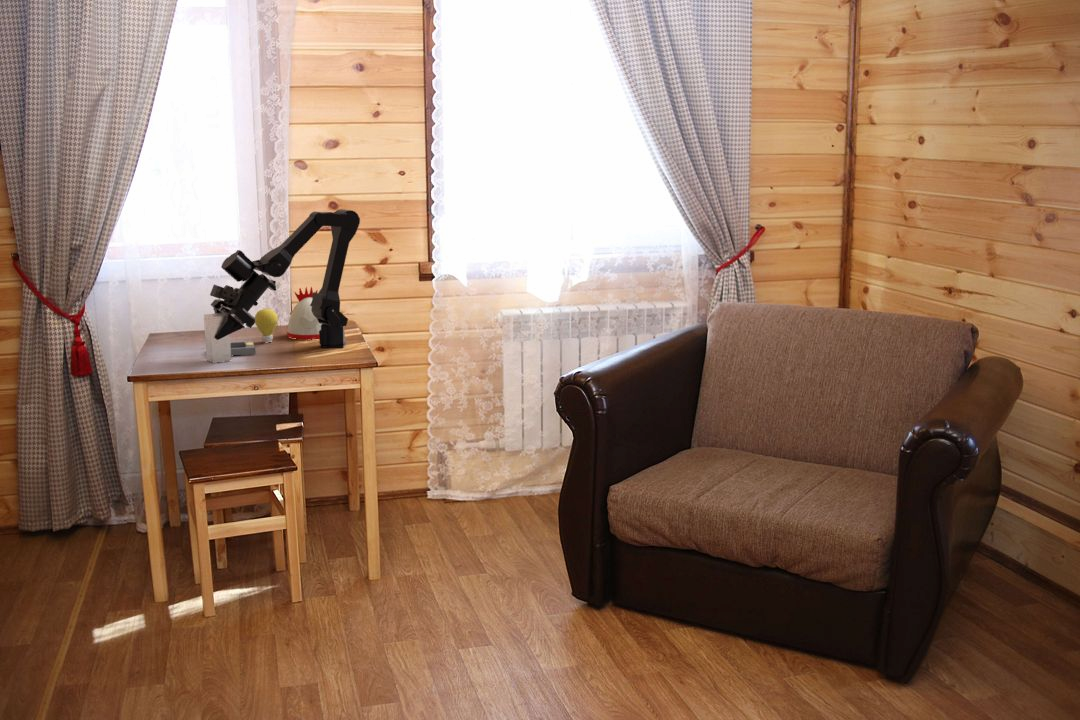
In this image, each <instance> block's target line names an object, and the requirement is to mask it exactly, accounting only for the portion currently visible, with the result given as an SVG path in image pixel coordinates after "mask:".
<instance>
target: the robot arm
mask: <svg viewBox="0 0 1080 720" xmlns="http://www.w3.org/2000/svg"><path fill="white" fill-rule="evenodd" d="M360 224H361V218H360V216H359V214H358V213H357V212H356V211H354V210H352V209H351V210H350V209H345V208H340V209H337V210H335V211H333V212H331V211H329V212H327V211H326V212H324V211H323V212H322V211H312V212H311V213H310V214H309V215H308V217H306V219H305V220H304V221H303V222H302V223H301V224H299V226H298V227H297V228H296V229H295V230H294V231H293V232H292V233H291V234H290V235H289V236H288V237H287V238H286V239H285V241H283V242H282V243H281V244H280V245H279V246H277V247H275V248H273V249H271V250H270V251H267V253H265V254H264V255H262V256H261V257H260V259H256V260H251V259H250V258H249V257H248V256H247V255H246V254H245V253H244V252H243V251H242V250H240V249H237V250H236V251H235V252H234V253H232V254H230V255H228V257H225V259H224V260H223V262H222V263H221V266H220V267H221V269H222V270H223V271H224V272H226V274H228V275H229V276H230V277H231V278H233V279H234V280H235V281H236V282H238V283H239V282H241V281H242V282H243V283H242V284H241V286H240V287H239V288H238V287H233V286H230V285H229V284H228V285H225V286H221V285H217V284H212V285H213V286H212V288H211V291H210V294H209V296H211V297H214V298H216V299H213V301H212V302H211V303H210V306H211V307H212V309H213V312H214V314H215V313H224V314H225V321H224V323H223V324H222V326H221V327H220V329H219V331H218V332H217V334H216V336H215V339H217V340H219V339H221V338H223V337H225V336H227V335H229V334H230V335H231V334H233V333H235V332H237V331H239V330H243V329H245V328H246V327H247V328H250V329H252V327H253V326H254V325H256V324H255V316H253V315H252V314H251V313H250V312H249V311H250V310H251V308H253V307H257V306H258V305H259V303H258V301H259V299H260V298H261V297H262V296H263V295H264V293H265V292H266V291H267V290H271V291H274V292H276V291H277V286H276V280H275V279H271V280H270V279H269V278H268V277H267V276H269V277H272V278H280V277H282V276H283V275H284V274H285V273H286V272H287V270H288V268H289V267H290V266H291V264H292V261H293V258H294V257H295V255H296V254H297V253H298V252H299V251H300V250H301V249H302V248H303V247H304V246H305V245H306V244H307V243H308V242H309V241H310V240H311V239H312V238H313V236H315V235H316V234H317V233H318V231H319V230H320V229H322V228H323V227H330V230H331V236H332V242H331V246H330V249H329V254H328V260H327V263H326V268H325V273H324V277H323V281H322V286H321V289H320V290H319V291H318V292H317V293H315V292H316V291H313V298H312V302H311V304H310V306H312V309H311V311H312V313H313V315H314V316H315V317H316V318H317V319H318V322H319V323H320V324H322V325H321V329H320V331H319V345H320V348H323V349H324V348H325V349H326V348H344V347H345V345H346V344H347V341H346V335H345V333H346V332H345V327H346V326H347V325H348V320H349V318H348V317H346V316H345V315H344V314H343V313H342V312H341V311H340V310H341V299H340V294H339V292H340V285H341V281H342V278H343V273H344V268H345V263H346V259H347V255H348V250H349V246H350V243H351V241H352V240H353V239H354V237H355V235H356V233H357V232H358V228H359V226H360ZM257 271H258V272H261V273H260V274H259V273H258V272H257ZM244 324H245V325H244Z"/></svg>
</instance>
